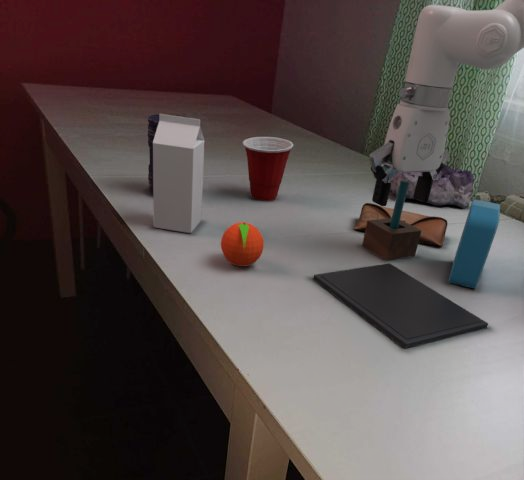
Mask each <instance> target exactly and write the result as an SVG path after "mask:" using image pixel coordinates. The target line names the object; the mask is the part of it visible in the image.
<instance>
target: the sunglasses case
mask: <svg viewBox="0 0 524 480" xmlns="http://www.w3.org/2000/svg"><path fill="white" fill-rule="evenodd" d="M393 211H394V208H391V207H386V206H380V205H378V204H376V203H373V202H372V203H370V202H365V203H364V204H363V205H362V206H361V209H360V214H359V218H358V220H357V221H356V224H355V226H354V230H356V231H363V232H365V230H366V225H367V221H368V220H377V219H387V218H392V215H393ZM400 220H402V221H404V222H406V223H408V224H410V225H412V226H414V227H416V228H418V229H419V230H421V235H420V238H419V242H418V244H422V245H423V244H424V245H430V246H431V245H432V246H439V247H444V242H445V239H446V233H447V228H448V220H447V219H446V218H444V217H440V216H436V215H435V216H432V215H424V214H422V213H421V214H420V213H415V212H412V211H407V210H402V214H401V218H400Z"/></svg>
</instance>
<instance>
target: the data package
mask: <svg viewBox="0 0 524 480" xmlns="http://www.w3.org/2000/svg"><path fill="white" fill-rule="evenodd" d="M500 216H501V204H500V203H495V202H492V201H491V202H490V201H485V200H481V199H472V200H471V204H470V207H469V210H468V213H467V217H466V220H465V223H464V227H463V229H462V232H461V236H460V239H459V241H458V245H457V249H456V252H455V255H454V258H453V262H452V266H451V269H450V274H449V278H448V283H450V284H453V285H458V286H461V287H466V288H470V289H474V290H475V289H477V287H478V285H479V283H480V280H481V277H482V274H483V271H484V268H485V265H486V262H487V260H488V257H489V254H490V251H491V248H492V245H493V242H494V239H495V237H496V233H497V230H498V227H499V223H500Z"/></svg>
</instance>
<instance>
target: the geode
mask: <svg viewBox="0 0 524 480" xmlns="http://www.w3.org/2000/svg"><path fill="white" fill-rule="evenodd" d="M437 175H438V176H437V179H436V180H433V184H432V188H431V192H430V195H429V199H428V202H427V203H428V204H430V205H432V206H437V207H441V206H446V205H447V206H448V205H451V206H457V207H458V208H461V209H468V208H469V206H470V203H471V195H472V194H473V193H474V183H475V177H474V174H473V173H472V171H471V170H468V169H465V170H461V169H459V168H458V167H456V168H455V169H454V168H452V167H451V166H449V165H447V164H444V167H443V169H442V170H441V171H440V172H439V173H438V174H437ZM419 176H422V174H421V172H412V173H402V172H399V171H397V172H396V173H395V175H394V176H393V177H392V178H391V179H390V181H389V183H391V188H390V192H392V193H393V194H394V196H395V197H397V194H398V189H399V185H400V181H401V180H407V181H409V185H408V189H407V193H406V197H405V199H411V200H417V199H415V198H414V197H413V195H414V191H415V187H416V184H417V180H418V177H419ZM417 201H418V200H417ZM427 203H426V204H427Z"/></svg>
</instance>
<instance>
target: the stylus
mask: <svg viewBox="0 0 524 480" xmlns="http://www.w3.org/2000/svg"><path fill="white" fill-rule="evenodd" d="M408 185H409V181H407V180H401V181H400V185H399V189H398V194H397V196H396V198H395V202H394V207H393V209H394V211H393V215H392V219H391V223H390V228H392V229H398V226H399V222H400V218H401V214H402V211H404V205H405V201H406V198H405V197H406V193H407V189H408Z"/></svg>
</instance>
